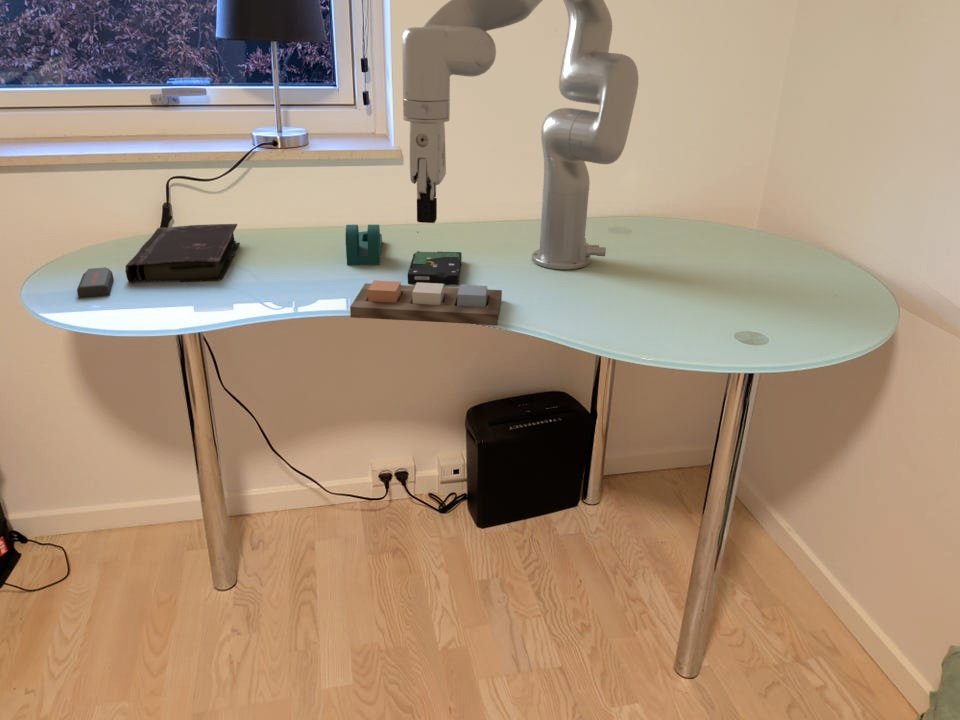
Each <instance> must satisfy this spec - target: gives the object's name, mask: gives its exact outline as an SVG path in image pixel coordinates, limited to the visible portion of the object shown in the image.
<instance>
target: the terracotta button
mask: <svg viewBox="0 0 960 720" xmlns="http://www.w3.org/2000/svg"><path fill="white" fill-rule="evenodd" d="M370 284H371V286H370V287H369V289H368V301H371V302H390V303H398V302H399V300H400V298H401V285H402V283H401V281H394V280H375V279H374V280H373V281H372V283H370Z"/></svg>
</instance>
